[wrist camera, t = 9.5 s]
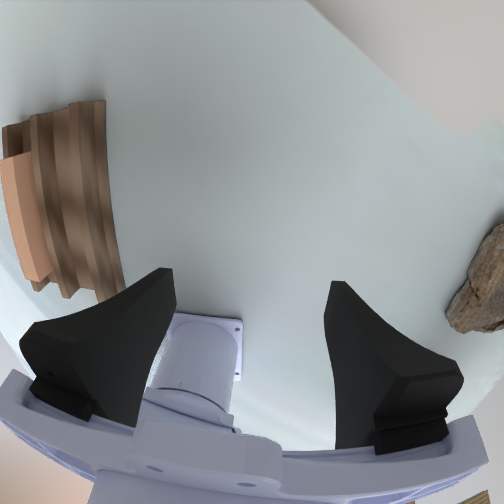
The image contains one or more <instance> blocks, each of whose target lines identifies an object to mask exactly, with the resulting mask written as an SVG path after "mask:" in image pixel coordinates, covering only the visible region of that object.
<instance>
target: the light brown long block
mask: <svg viewBox="0 0 504 504" xmlns="http://www.w3.org/2000/svg"><path fill="white" fill-rule="evenodd" d="M0 173H1V181H2V188H3V194H4V200H5V205H6V210H7V215H8V220H9V224H10V229H11V233H12V237H13V241H14V244H15V248H16V251H17V255H18V258H19V261H20V265H21V268H22V271H23V274H24V277H25V279H28V280H32V281H37V282H40V281H42V280H43V279H44V278H45V277H46V276H47V275H48V274H49V273H50V272H52V271H53V270H54V269H53V266H52V262H51V259H50V255H49V251H48V247H47V244H46V239H45V235H44V231H43V226H42V222H41V217H40V211H39V206H38V200H37V194H36V187H35V180H34V171H33V162H32V151H28V152H24V153H21V154H18V155H15V156H11V157H8V158H5V159H2V160H0Z"/></svg>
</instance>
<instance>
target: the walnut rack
mask: <svg viewBox="0 0 504 504" xmlns="http://www.w3.org/2000/svg"><path fill="white" fill-rule="evenodd" d="M2 143H3V157H4V159H5V158H8V157H11V156H15V155H18V154H21V153H24V152H28V151H32V162H33V171H34V180H35V187H36V194H37V200H38V206H39V211H40V217H41V222H42V226H43V231H44V235H45V239H46V244H47V247H48V251H49V255H50V259H51V262H52V266H53V269H54V270H53V271H52V272H50V273H49V274H48V275H47V276H46V277H45V278H44V279H43V280H42V281H40V282H37V281H32V280H30V281H31V284H32V287H33V290H34V291H37V292H40V291H41V290H42V289H43V288H44V287H45V286H46V285H47V284H48V283H49V282H54V283H58V285H59V288H60V291H61V294H62V297H63V298H67V299H70V298H71V297H72V296H73V295H74V293H75V292H76V291H77V290H78V289H79V288H86V289H92V290H95V293H96V296H97V299H98V303H101V302H103V301H105V300H107V299H109V298H111V297H113V296H115V295H116V294H118V293H120V292H121V291H123V290H125V289H126V287H125V283H124V278H123V273H122V268H121V263H120V258H119V253H118V247H117V241H116V235H115V229H114V222H113V215H112V207H111V198H110V189H109V178H108V166H107V149H106V101H95V102H76V103H72V104H69V108H66V109H63V110H59V111H56V112H51V113H42V114H36V115H33V116H30V120H28V121H25V122H22V123H18V124H12V125H8V126H5V127H3V128H2Z"/></svg>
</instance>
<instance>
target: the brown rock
mask: <svg viewBox="0 0 504 504" xmlns="http://www.w3.org/2000/svg"><path fill="white" fill-rule="evenodd" d="M467 274H468V276H469V278H468V279H467V280H466V281H465V284H464V286H463V287H462V289H461V290H460V291H458V292H457V293H456V295H455V297H454V298H453V300H452V302H451V303H450V305H449V307H448V309H447V310H446V317H447V319H448V321H449V324H450V326H451V327H453V328H454V329H455V330H456V331H457V332H460V333H463V334H465V333H467V332H469V331H471V330H474V331H480V332H483V333H492V332H494V331H497V330H502V329H503V328H504V223H502V224H500V225H498V226H496V227H494V230H493V232H492V233H491V234H489V235H488V236H487V237H486V238H485V239H484V241H483V242H482V243H481V245H480V247H479V249H478V251H477V254H476V255H475V257H474V258H473V260H472V262H471V264H470V267H469V269H468V271H467Z"/></svg>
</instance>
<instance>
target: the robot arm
mask: <svg viewBox="0 0 504 504" xmlns="http://www.w3.org/2000/svg"><path fill="white" fill-rule="evenodd" d="M176 305H177V303H176V296H175V288H174V280H173V272H172V269H170V268H158V269H156V270H155V271H153V272H151V273H150V274H148V275H147V276H145V277H144V278H142V279H141V280H139V281H137V282H136V283H134V284H133V285H131V286H130V287H128V288H126V289H125V290H123V291H121V292H120V293H118V294H116V295H115V296H113V297H111V298H109V299H107V300H105V301H103V302H101V303H99V304H97V305H95V306H92V307H90V308H87V309H85V310H82V311H79V312H77V313H74V314H70V315H67V316H63V317H60V318H56V319H51V320H45V321H40V322H34V323H33V324H32V326H31V327H30V328H29V329H28V331H27V332H26V333H25V334H24V335H23V337H22V338H21V339H20V341H19V346H20V350H21V352H22V354H23V356H24V358H25V359H26V361H27V363H28V364H29V366H30V367H31V369H32V370H33V372H34V373H35V375H36V376H37V377H36V378H35V380H34V381H33V380H31V379H30V378H29V377H28V376H26V375H24V374H22V373H21V372H19V371H17V370H15V369H13V370H12V371H11V372H10V374H9V375H8V377H7V378H6V379H5V381H4V382H3V384H2V385H1V387H0V420H1V422H2V423H3V424H5V425H6V426H7V427H8V428H9V429H10V430H11V431H12V432H13V433H14V434H15V435H16V436H17V437H18V438H20V439H21V440H23V441H24V442H25V443H27V444H28V445H30V446H31V447H33V448H34V449H36V450H37V451H39V452H41V453H42V454H44V455H45V456H47V457H48V458H50V459H52V460H53V461H55V462H57V463H58V464H60V465H62V466H64V467H65V468H67V469H69V470H71V471H72V472H74V473H76V474H78V475H80V476H82V477H84V478H86V479H88V480H90V481H92V482H94V486H93V489H92V492H91V495H90V498H89V500H88V503H87V504H405V503H408V502H411V501H414V500H417V499H420V498H423V497H426V496H428V495H431V494H434V493H437V492H439V491H442V490H444V489H447V488H449V487H452V486H454V485H455V484H457V483H459V482H460V481H462V480H463V479H465V478H467V477H468V476H470V475H471V474H473V473H474V472H476V471H477V470H479V469H480V468H482V467H483V466H485V465H486V464H487V463H488V462H489V460H488V457H487V454H486V450H485V447H484V444H483V441H482V438H481V436H480V433H479V430H478V427H477V425H476V422H475V419H474V417H473V415H469V416H466V417H463V418H459V419H456V420H453V421H451V422H450V423H448V424H446V421H445V418H446V417H447V416H448V413H447V410H446V407H447V406H448V405H449V403H450V402H451V401H452V400H453V399H454V397H455V396H456V395H457V394H458V392H459V391H460V389H461V388H462V385H463V382H464V377H463V375H462V373H461V371H460V369H459V367H458V365H457V363H456V361H454V360H452V359H449V358H447V357H444V356H442V355H439V354H437V353H434V352H432V351H430V350H428V349H426V348H424V347H423V346H421V345H419V344H417V343H415V342H414V341H412V340H411V339H409V338H407V337H406V336H404V335H403V334H401V333H400V332H399V331H397V330H396V329H395V328H393V327H392V326H391V325H389V324H388V323H387V322H386V321H384V320H383V319H382V318H381V317H380V316H379V315H378V314H377V313H376V312H374V311H373V310H372V309H371V308H370V307H369V306H368V305H367V304H366V303H365V302H364V301H363V300H362V299H361V298H360V296H359V295H358V294H357V293H356V292H355V291H354V290H353V289H352V288H351V287H350V286H349V285H348V284H347V283H346V282H345V281H332V282H331V287H330V291H329V296H328V300H327V304H326V308H325V312H324V329H325V337H326V342H327V347H328V351H329V356H330V361H331V366H332V371H333V376H334V384H335V400H336V443H335V450H321V451H282V448H281V446H280V445H279V444H278V443H277V442H274V441H272V440H270V439H268V438H266V437H260V436H254V435H249V434H242V432H241V430H240V429H239V428H237V427H233V420H234V416H233V415H231V414H228V413H229V406H230V400H231V394H232V387H233V381H240V380H241V378H242V344H243V322H242V321H241V320H238V319H228V318H217V317H208V316H199V315H190V314H182V313H174V312H175V308H176ZM237 327H238V328H240V329H237ZM165 334H167V339H168V344H167V346H166V349H165V351H164V354H163V356H162V358H161V361H160V363H159V366H158V368H157V370H156V373H155V375H154V378H153V380H152V383H151V385H150V387H147V388H146V390H145V393H144V389H145V386H146V382H147V378H148V375H149V372H150V369H151V366H152V363H153V360H154V358H155V356H156V354H157V351H158V349H159V347H160V345H161V343H162V341H163V339H164V337H165ZM237 372H238V373H237ZM143 393H144V395H143ZM142 397H143V398H142Z"/></svg>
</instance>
